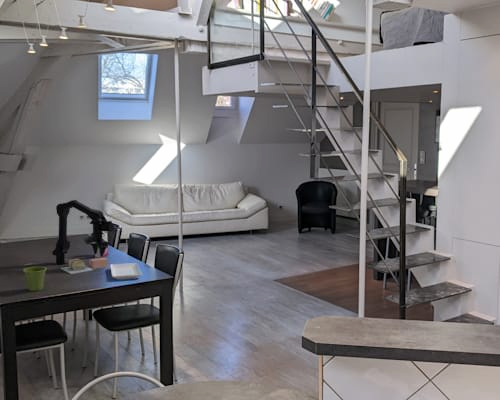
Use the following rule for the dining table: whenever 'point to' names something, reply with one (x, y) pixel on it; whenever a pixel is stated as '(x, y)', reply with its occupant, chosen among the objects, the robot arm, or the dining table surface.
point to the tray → (125, 271)
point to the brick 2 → (98, 262)
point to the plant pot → (35, 277)
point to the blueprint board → (76, 270)
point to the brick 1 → (76, 264)
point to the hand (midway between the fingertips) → (98, 255)
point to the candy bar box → (106, 248)
